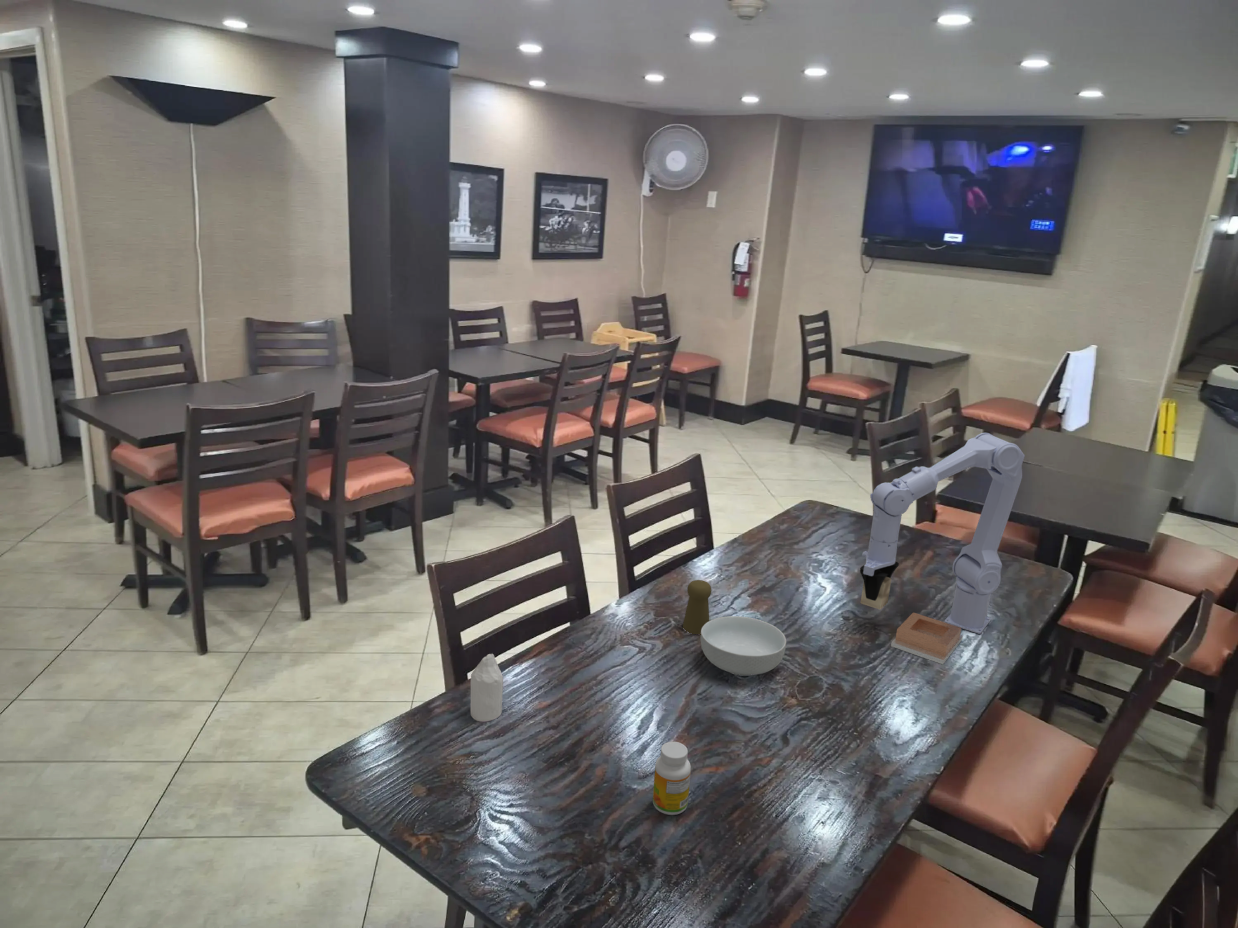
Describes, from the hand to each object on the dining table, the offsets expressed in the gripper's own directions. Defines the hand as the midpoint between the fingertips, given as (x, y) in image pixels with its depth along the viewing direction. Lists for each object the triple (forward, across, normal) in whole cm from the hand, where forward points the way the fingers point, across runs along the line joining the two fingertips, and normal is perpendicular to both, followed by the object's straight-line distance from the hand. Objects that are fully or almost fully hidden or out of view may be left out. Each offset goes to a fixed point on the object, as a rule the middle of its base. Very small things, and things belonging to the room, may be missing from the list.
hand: (875, 595), depth 179 cm
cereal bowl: (+8, +34, -14) cm, 38 cm away
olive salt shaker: (+8, +27, -29) cm, 40 cm away
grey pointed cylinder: (+8, +79, -40) cm, 89 cm away
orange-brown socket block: (+8, -2, +12) cm, 15 cm away
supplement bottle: (+8, +77, -2) cm, 77 cm away
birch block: (+2, 0, 0) cm, 2 cm away
